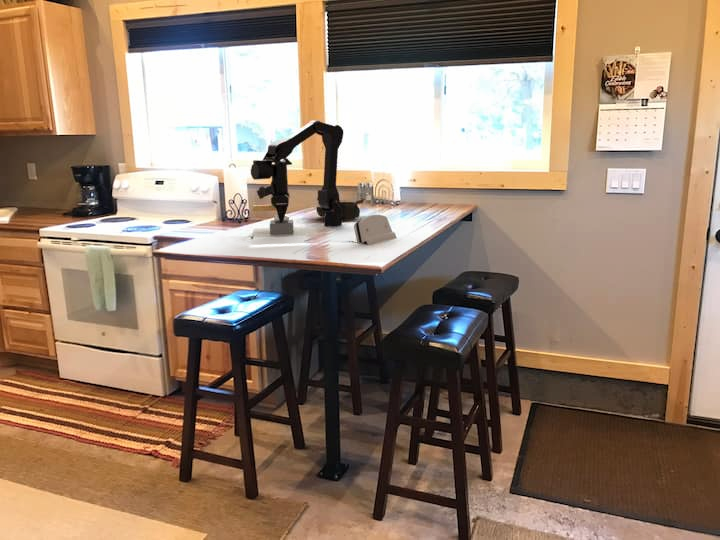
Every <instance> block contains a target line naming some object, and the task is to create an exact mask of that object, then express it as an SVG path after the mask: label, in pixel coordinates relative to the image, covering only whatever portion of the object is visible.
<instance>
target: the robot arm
mask: <svg viewBox="0 0 720 540" xmlns="http://www.w3.org/2000/svg"><path fill="white" fill-rule="evenodd" d="M315 134H316V135H319V136H321V141H322V143H323V146H324V150H325V151H324V169H323V185H322V187H321V189H317V198H316V201H317V203H318V204H319V205H320V206H321V208H322V211H323V212H325V215H324V217H323V226H324V227H342V226H343V223H342V222H343V221H342V215H341V213H344V211H345V206H344V205H343V204H342V203H341V202H342V201H340V200H341V199H340V193H339V190H338V188H337V175H338V174H337V173H338V171H337V170H338V158H339V155H338V153H339V148H340V146H341V144H342V142H343V138H344V128H342V126H341V125H338V124H330V123H324V122H322V121H320V120H310V121H309V122H308V123H306V124H305V125H303V126H302V127H301V128H300V129H297V130H296V131H295V132H293V133H291V134H290V135H289V136H287V137H285V138H282V139H279V140H276V141H274V142H271V143H270V144H269V145H268V146H267V152H266V153H265V155H264V157H263V159H262V160H257V159H256V160H252V165H251V166H250V176H251V177H252V179H253V180H269V179H271V181H270V184H269V185H266V186H264V185H262V186H259V187H258V189H257V190H256V193H257V196H258V198H259V200H262V199H264V198H266V197H269V196H270V195H271V197H270V205H272V206H274V207H275V208H276V212H277V213H276V214H278V217H279V221H280V222H283V220H284V217H285V214H287V210H288V207H289V205H290V204H289V203H290V192H289V181H288V166H292V165H293V163H292V162H291V161H290V160H289V158H288V157H289V156H290V155H291V154H292V153H293V151H294V149H295V148H296V147H297V146H299V145H300V144H301V143H304V142H305V141H306V140H307V139H309V138H311V137H312V136H314V135H315Z"/></svg>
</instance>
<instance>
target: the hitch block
mask: <svg viewBox="0 0 720 540" xmlns="http://www.w3.org/2000/svg"><path fill="white" fill-rule="evenodd" d="M304 235H305V236H308V235H311V236H312V235H318V230H317V226H302V227H300V226H298V227H297V226H296V227H295V226H294V219H289V222H287V223H275V222H274V219H273V220H272V219H271V220H270V222H269V227H266V228H264V227H263V228H254V229H253V232H252V233H251V236H250V239H251V240H253V239H254V238H257V237H279V236H281V237H283V236H304Z"/></svg>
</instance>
